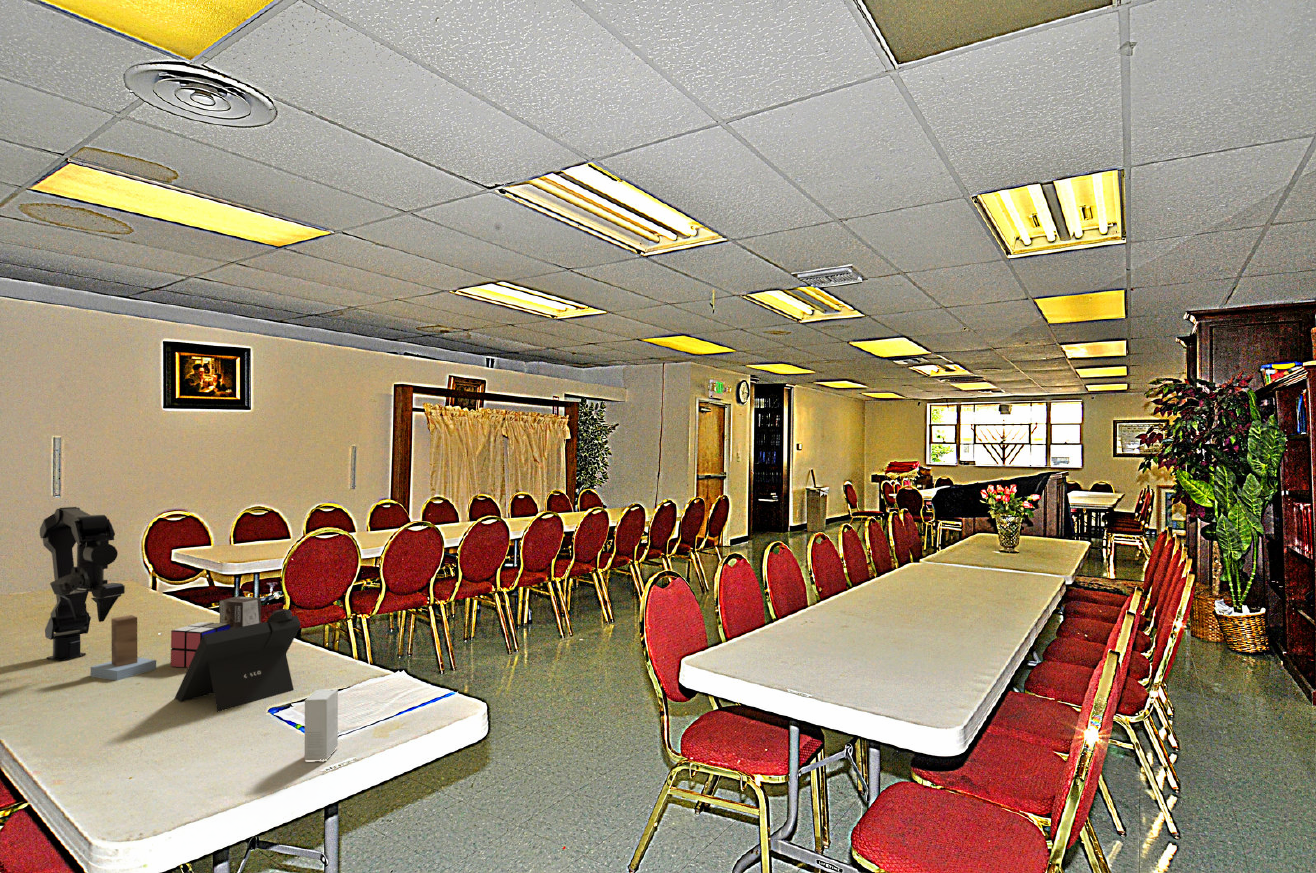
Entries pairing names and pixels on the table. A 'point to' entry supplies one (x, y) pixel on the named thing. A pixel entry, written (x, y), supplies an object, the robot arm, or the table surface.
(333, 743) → the skincare box
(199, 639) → the puzzle cube
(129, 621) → the walnut post
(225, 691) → the office phone
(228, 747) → the table surface
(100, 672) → the blue block
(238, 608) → the coffee box
